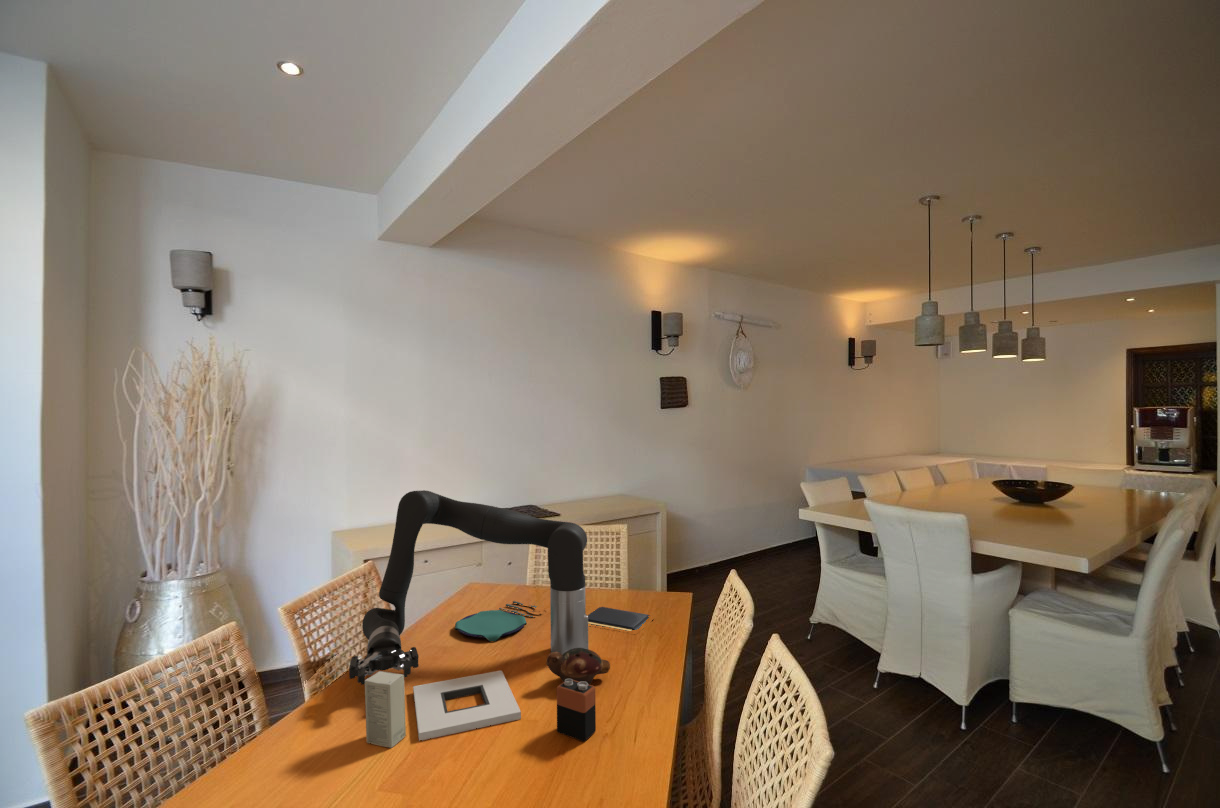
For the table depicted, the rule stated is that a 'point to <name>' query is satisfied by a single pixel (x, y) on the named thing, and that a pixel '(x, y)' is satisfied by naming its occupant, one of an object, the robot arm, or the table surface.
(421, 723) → the slot board
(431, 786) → the table surface
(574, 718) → the battery
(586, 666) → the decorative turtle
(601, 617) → the dark hardcover book
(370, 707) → the skincare box
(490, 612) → the teal flat piece
